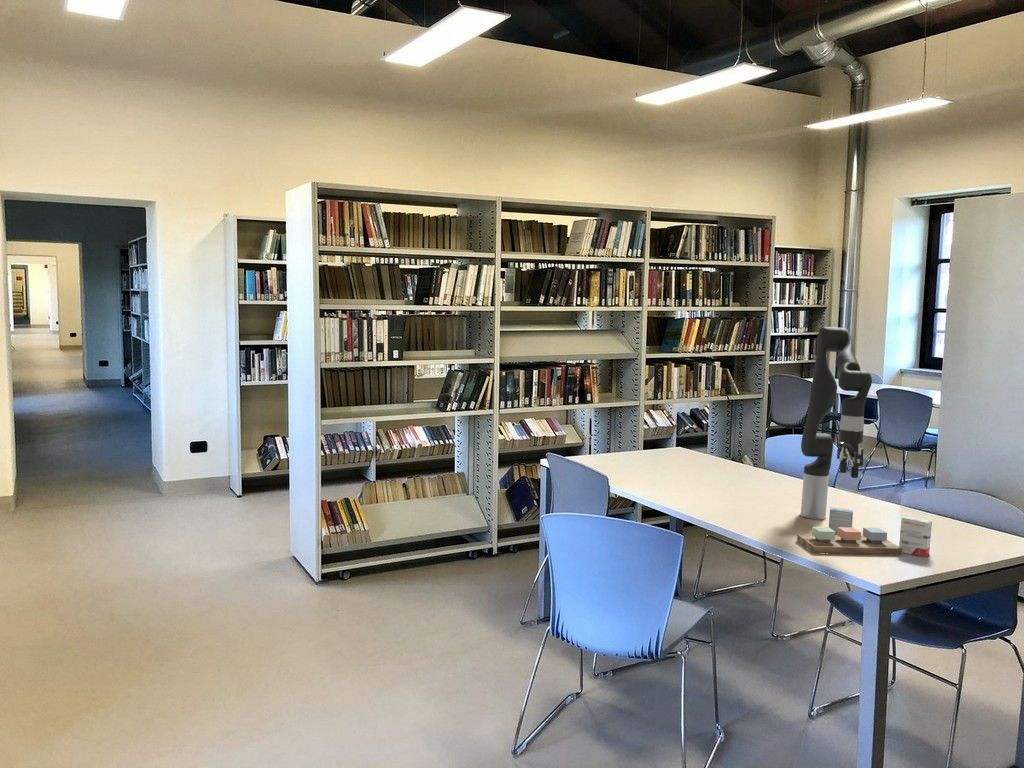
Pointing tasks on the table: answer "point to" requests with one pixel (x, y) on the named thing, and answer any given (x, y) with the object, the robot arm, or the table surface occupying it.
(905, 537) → the ink box
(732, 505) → the table surface
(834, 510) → the medicine box
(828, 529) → the sage button
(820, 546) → the button board
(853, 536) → the terracotta button
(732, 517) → the table surface
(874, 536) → the slate button
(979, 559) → the table surface
